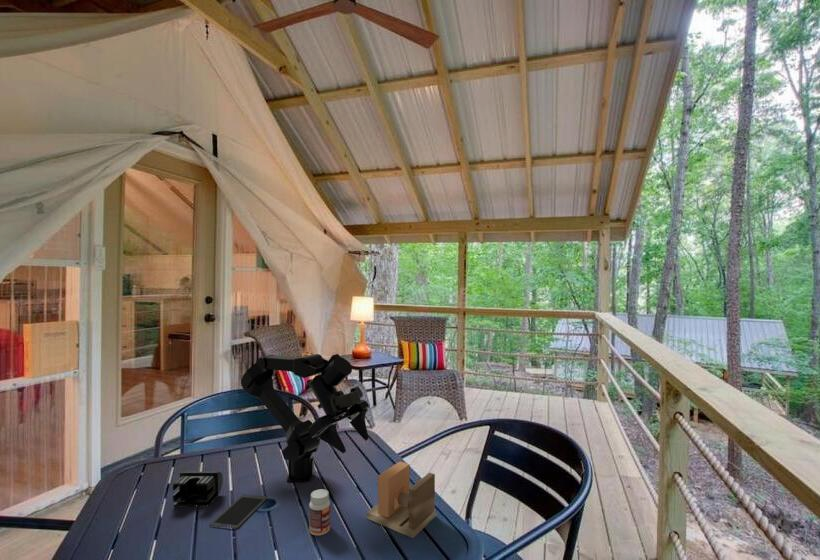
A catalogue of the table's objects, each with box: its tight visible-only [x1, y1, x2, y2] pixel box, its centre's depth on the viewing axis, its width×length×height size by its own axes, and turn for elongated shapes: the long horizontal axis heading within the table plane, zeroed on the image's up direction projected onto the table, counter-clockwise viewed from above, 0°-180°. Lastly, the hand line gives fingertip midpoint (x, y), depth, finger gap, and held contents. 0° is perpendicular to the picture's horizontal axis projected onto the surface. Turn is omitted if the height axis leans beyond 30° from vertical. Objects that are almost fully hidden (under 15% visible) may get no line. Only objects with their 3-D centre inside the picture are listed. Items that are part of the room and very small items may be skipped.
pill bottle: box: [308, 488, 331, 536], centre depth 94 cm, size 5×5×8 cm
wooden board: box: [377, 461, 411, 518], centre depth 100 cm, size 3×9×9 cm, turn 146°
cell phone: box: [209, 494, 268, 531], centre depth 101 cm, size 7×14×1 cm, turn 169°
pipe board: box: [366, 472, 437, 539], centre depth 99 cm, size 13×10×10 cm
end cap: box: [172, 471, 224, 507], centre depth 107 cm, size 10×7×7 cm
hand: (356, 445), depth 108 cm, fingers open, 9 cm apart
